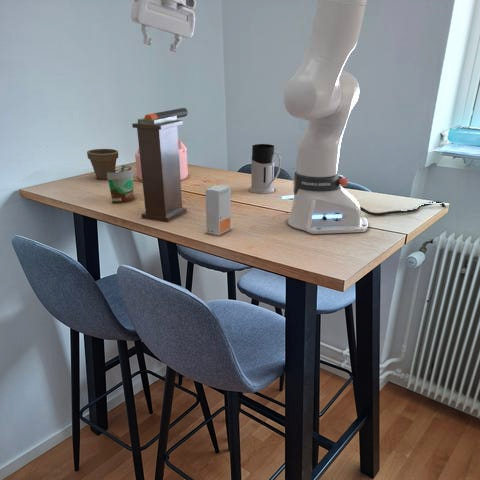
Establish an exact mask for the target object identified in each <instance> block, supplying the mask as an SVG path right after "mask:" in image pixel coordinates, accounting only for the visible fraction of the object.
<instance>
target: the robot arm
mask: <svg viewBox="0 0 480 480" xmlns="http://www.w3.org/2000/svg"><path fill="white" fill-rule="evenodd" d="M367 2H368V0H317V1H316V7H315V12H314V18H313V23H312V28H311V32H310V37H309V40H308V43H307V46H306V49H305V51H304V54H303V56H302V58H301V61H300V63H299V65H298V67H297V70H296V71H295V73H294V74H293V76H291V78H290V79H288V81H287V83H286V85H285V87H284V89H283V105H284V107H285V109H286V111H287V112H288V114H289V115H290V116H292V117H293V118H296V119H299V120H304V121H307V123H306V126H305V129H304V132H303V134H302V135H301V136H300V138H299V140H298V143H297V154H296V155H297V156H296V169H295V172H294V176H293V183H292V185H293V186H292V187H293V188H292V189H293V194H292V195H283V196H281V199H282V200H284V199H285V200H286V199H292V205H291V209H290V212H289V216H288V219H287V224H288V225H289V226H290V227H292V228H294V229H298V230H301V231H304V232H306V233H309V234H312V235H322V234H323V235H324V234H327V235H328V234H347V233H350V234H351V233H364V232H366V231H367V230H368V228H369V224H368V220H367V218H365V217H364V216H363V215H362V213H365V214H366V215H369V216H377V217H378V216H380V217H381V216H387V215H388V216H389V215H394V214H395V215H396V214H409V213H414V212H416V211H418V210H420V209H421V208H423V207H429V206H433V205H434V204H425V203H423V204H424V205H421V206H419V207H418V208H417V209H414V208H412V209H413V210H409V209H406V210H407V211H401V210H402V209H399V210H389V211H382V212H381V211H380V212H374V211H370V210H368V209H365V208H364V207H361V206H360V203H359V201H358V200H357V199H356V198H355V197H354V196H353V195H352V194H350V192H349V191H347V190H346V189H345V188H344V187H346V185H348V180H347V178H346V177H345V176H344V175H342V174H341V173H339V172H338V168H339V159H340V150H341V144H342V139H343V135H344V132H345V129H346V127H347V123H348V119H349V117H350V114H351V111H352V110H353V108H354V106H355V105H356V103H357V102H358V99H359V96H360V85H359V81H358V79H357V78H356V77H355V76H354V75H353V73H350V72H349V71H346V70H344V67H345V64H346V62H347V60H348V59H349V57H350V55H351V53H352V52H353V51H354V50H355V49H356V46H357V45H358V42H359V38H360V34H361V28H362V24H363V21H364V15H365V11H366V6H367ZM196 8H197V1H196V0H133V1H132V4H131V10H130V19H131V21H132V22H133V23H136V24H138V25H141V26H140V27H141V28H140V30H141V32H142V35H143V44H144V45H148V46H151V45H152V38H151V37H150V35H149V31H150V29H151V28H153V29H156V30H160V31H163V32H166V33H170V34H172V35H174V41H173V43H172V44H171V43H170V45H169V46H170V48H169V51H170V52H173V53H177V52H178V47H179V46H180V44H181V43H182V41H183V38H187V39H191V38H192V37H193V36H194V33H195V28H196V12H195V10H196ZM431 202H432V203H433V202H436V203H442V204H439V205H440V207H442V208H446V204H445V203H444V202H443V201H439V200H434V201H428V203H431ZM426 303H430V300H426Z"/></svg>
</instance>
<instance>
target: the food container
mask: <svg viewBox="0 0 480 480" xmlns="http://www.w3.org/2000/svg"><path fill="white" fill-rule="evenodd" d="M134 176H135V171H134V169H133V166H130V165H127V164H121V168H119V169H115V171H114V172H113V173H109V172H107V180H108V186H109V191H110V197H111V202H112V204H125V203H130V202H132V201H134Z"/></svg>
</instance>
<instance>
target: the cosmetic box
mask: <svg viewBox="0 0 480 480" xmlns="http://www.w3.org/2000/svg"><path fill="white" fill-rule="evenodd" d="M231 188H232V187H231V186H228V185H223V184H217V185H212V186H210V187H208V188H205V227H206V229H205V231H206V234H209V235H213V236H221V235H222V234H225V233H227V232H229V231H231V228H232V227H231V222H232V221H231V217H232V216H231V210H232V208H231V205H232V204H231V199H232V194H231V192H232V191H231Z"/></svg>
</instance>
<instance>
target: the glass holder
mask: <svg viewBox="0 0 480 480" xmlns="http://www.w3.org/2000/svg"><path fill="white" fill-rule="evenodd" d="M275 156H277V157H278V168H277V171H276V174H275ZM281 168H282V157H281V155H280V154H279V153H277V152H275V145H274V144H271V143H270V144H269V143H257V144H256V143H255V144H253V145H252V147H251V170H250V172H251V175H250V176H251V177H250V188H249V191H250V192H252V193H255V194H271V193H273V192H275V188H274V181H275V180H276V179H277V178H278V177H279V175H280V172H281Z"/></svg>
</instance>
